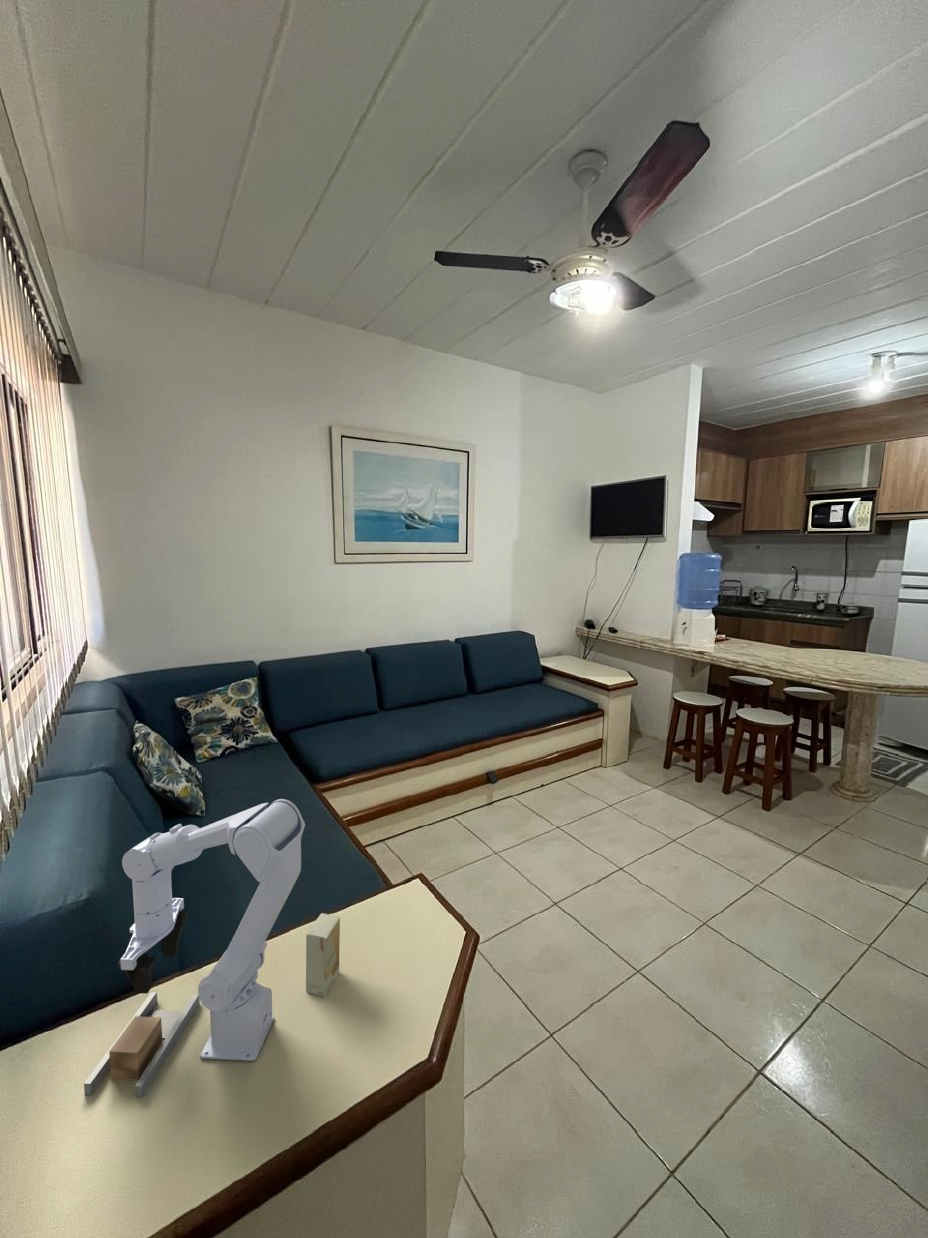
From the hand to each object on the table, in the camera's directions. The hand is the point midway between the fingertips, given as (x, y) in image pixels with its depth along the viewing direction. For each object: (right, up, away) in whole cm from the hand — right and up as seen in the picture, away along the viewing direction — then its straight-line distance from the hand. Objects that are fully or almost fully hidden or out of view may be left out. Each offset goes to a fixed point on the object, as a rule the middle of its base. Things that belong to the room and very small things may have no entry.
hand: (157, 972), depth 87 cm
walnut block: (+1, -10, -7) cm, 12 cm away
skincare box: (+27, -9, +9) cm, 30 cm away
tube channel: (+1, -9, -4) cm, 10 cm away
